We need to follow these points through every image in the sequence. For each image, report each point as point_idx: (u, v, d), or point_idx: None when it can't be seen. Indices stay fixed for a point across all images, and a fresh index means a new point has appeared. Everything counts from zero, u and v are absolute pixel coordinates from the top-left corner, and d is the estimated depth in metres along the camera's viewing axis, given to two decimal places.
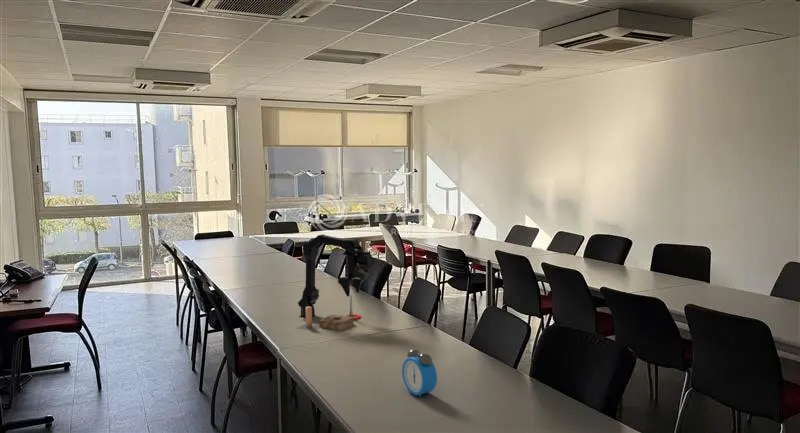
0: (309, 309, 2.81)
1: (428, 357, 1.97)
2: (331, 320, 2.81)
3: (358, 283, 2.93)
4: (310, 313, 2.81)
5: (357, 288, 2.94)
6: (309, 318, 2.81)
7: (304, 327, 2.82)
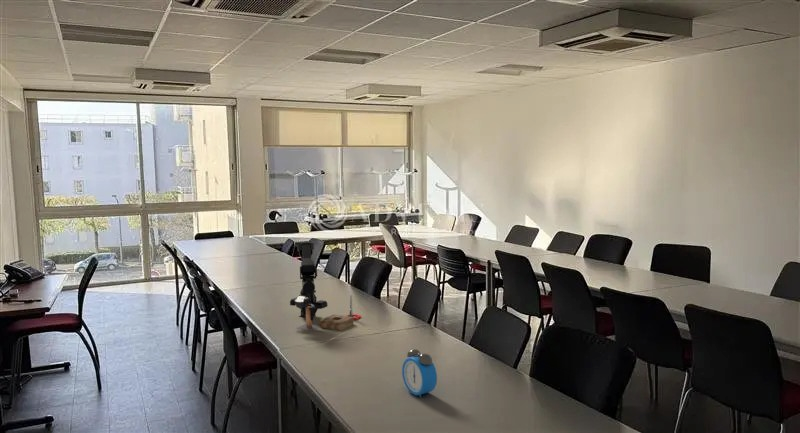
0: (309, 309, 2.81)
1: (428, 357, 1.97)
2: (331, 320, 2.81)
3: None
4: None
5: None
6: (309, 318, 2.81)
7: (304, 327, 2.82)
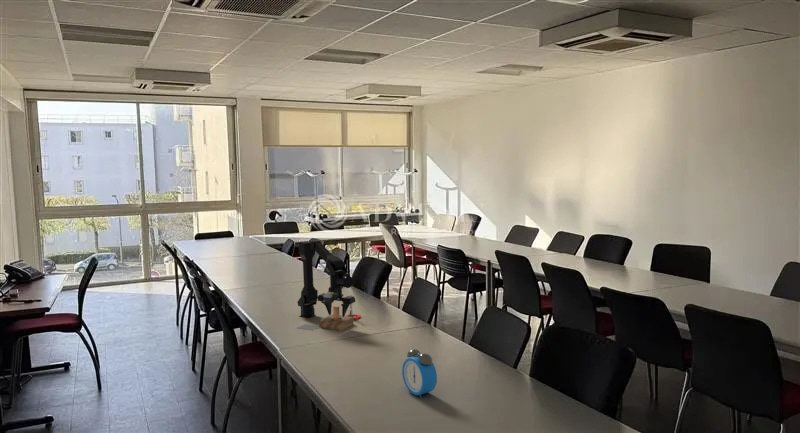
0: (337, 308, 2.83)
1: (428, 357, 1.97)
2: (331, 320, 2.81)
3: None
4: (338, 312, 2.83)
5: None
6: (337, 317, 2.83)
7: (304, 327, 2.82)
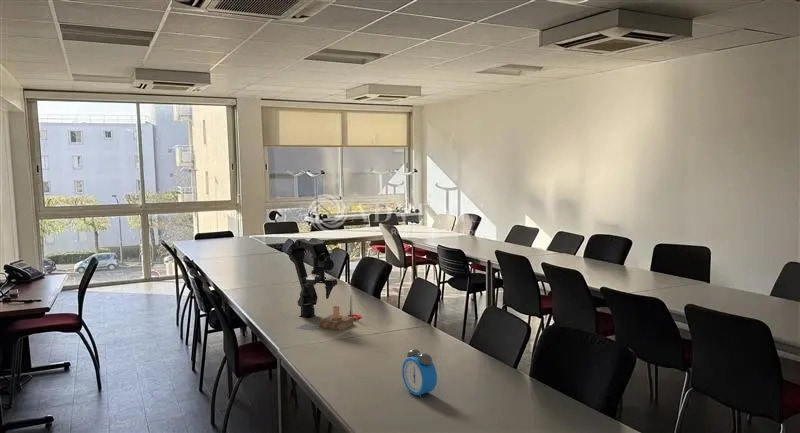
0: (337, 308, 2.83)
1: (428, 357, 1.97)
2: (331, 320, 2.81)
3: None
4: (338, 312, 2.83)
5: None
6: (337, 317, 2.83)
7: (304, 327, 2.82)
